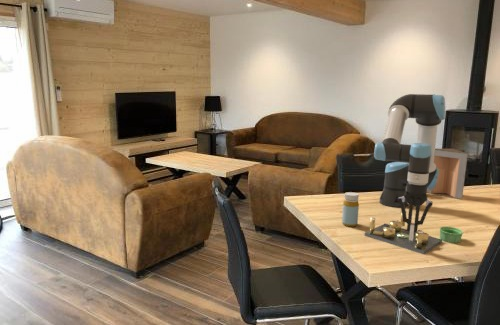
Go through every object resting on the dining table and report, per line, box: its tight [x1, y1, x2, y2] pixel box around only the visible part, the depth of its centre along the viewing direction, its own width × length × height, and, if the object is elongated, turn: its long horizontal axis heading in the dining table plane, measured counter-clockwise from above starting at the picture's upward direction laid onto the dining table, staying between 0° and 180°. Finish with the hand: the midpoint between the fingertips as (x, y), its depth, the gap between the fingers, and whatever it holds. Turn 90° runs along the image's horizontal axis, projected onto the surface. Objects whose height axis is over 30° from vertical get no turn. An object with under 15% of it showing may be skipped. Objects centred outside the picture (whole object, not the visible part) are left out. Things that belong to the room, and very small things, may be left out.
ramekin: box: [439, 226, 464, 244], centre depth 169 cm, size 9×9×4 cm
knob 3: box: [415, 229, 430, 248], centre depth 160 cm, size 10×5×7 cm, turn 149°
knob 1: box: [368, 217, 395, 238], centre depth 169 cm, size 10×5×7 cm, turn 63°
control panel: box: [364, 223, 443, 255], centre depth 169 cm, size 26×18×2 cm
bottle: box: [341, 191, 360, 228], centre depth 184 cm, size 7×7×15 cm
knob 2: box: [389, 211, 406, 231], centre depth 177 cm, size 10×5×7 cm, turn 133°
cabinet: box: [427, 148, 469, 200], centre depth 238 cm, size 21×10×28 cm, turn 47°
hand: (411, 239), depth 159 cm, fingers closed
